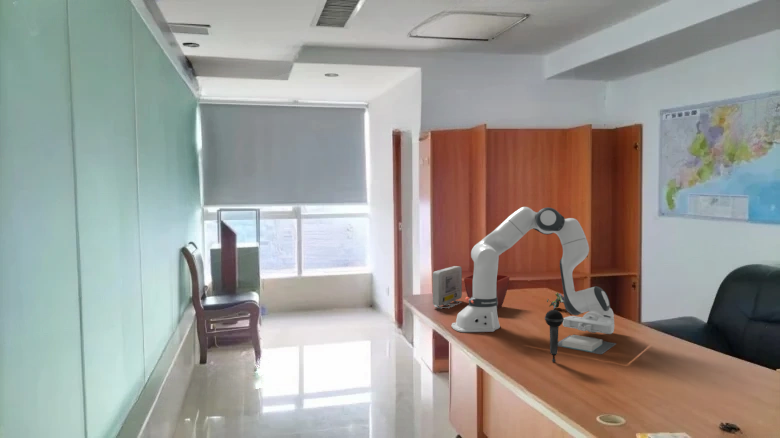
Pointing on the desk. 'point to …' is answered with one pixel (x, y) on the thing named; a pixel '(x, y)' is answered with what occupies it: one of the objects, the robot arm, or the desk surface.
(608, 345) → the mat
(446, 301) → the network device
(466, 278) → the plant pot
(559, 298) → the passion flower
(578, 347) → the tile
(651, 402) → the desk surface
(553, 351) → the microphone
